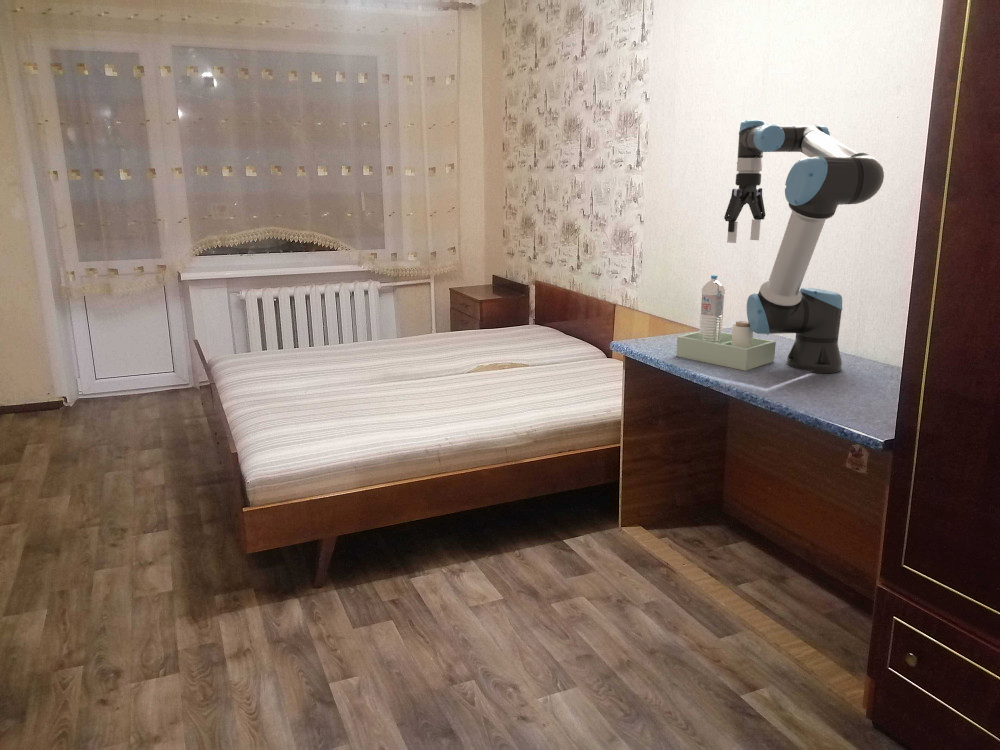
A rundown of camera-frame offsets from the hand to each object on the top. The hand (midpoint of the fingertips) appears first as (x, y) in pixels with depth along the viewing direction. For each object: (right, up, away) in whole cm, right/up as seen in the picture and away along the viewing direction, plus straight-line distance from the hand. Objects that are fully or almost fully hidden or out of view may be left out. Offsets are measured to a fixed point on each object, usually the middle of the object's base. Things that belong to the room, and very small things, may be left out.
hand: (743, 241), depth 240 cm
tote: (-9, -38, -9) cm, 40 cm away
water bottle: (-12, -37, -5) cm, 39 cm away
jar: (-5, -39, -13) cm, 41 cm away
